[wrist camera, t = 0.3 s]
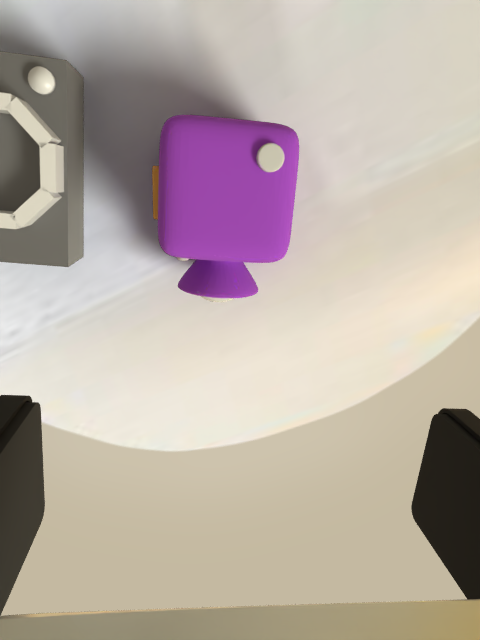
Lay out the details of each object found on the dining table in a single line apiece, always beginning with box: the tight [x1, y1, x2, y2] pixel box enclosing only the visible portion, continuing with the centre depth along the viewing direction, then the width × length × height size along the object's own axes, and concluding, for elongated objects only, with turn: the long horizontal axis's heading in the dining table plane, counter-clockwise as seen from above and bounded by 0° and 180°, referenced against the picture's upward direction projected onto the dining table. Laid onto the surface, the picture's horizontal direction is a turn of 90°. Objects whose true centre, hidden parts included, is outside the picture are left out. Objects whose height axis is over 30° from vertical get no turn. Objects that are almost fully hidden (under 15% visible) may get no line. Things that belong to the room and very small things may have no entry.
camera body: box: [0, 51, 83, 267], centre depth 32 cm, size 14×9×7 cm, turn 174°
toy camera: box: [152, 115, 299, 302], centre depth 34 cm, size 11×14×10 cm
